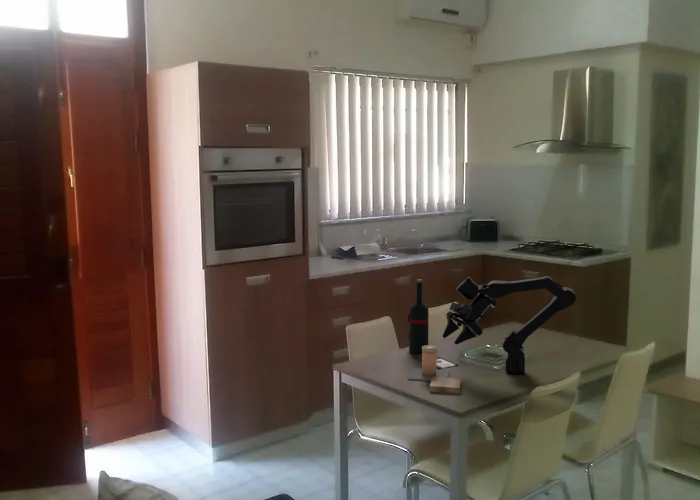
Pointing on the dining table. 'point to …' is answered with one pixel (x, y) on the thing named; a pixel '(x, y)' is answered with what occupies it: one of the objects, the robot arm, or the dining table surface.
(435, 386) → the plate
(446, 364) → the chocolate bar
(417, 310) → the wine bottle
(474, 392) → the dining table surface
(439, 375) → the mat
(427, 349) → the tan cylindrical piece
